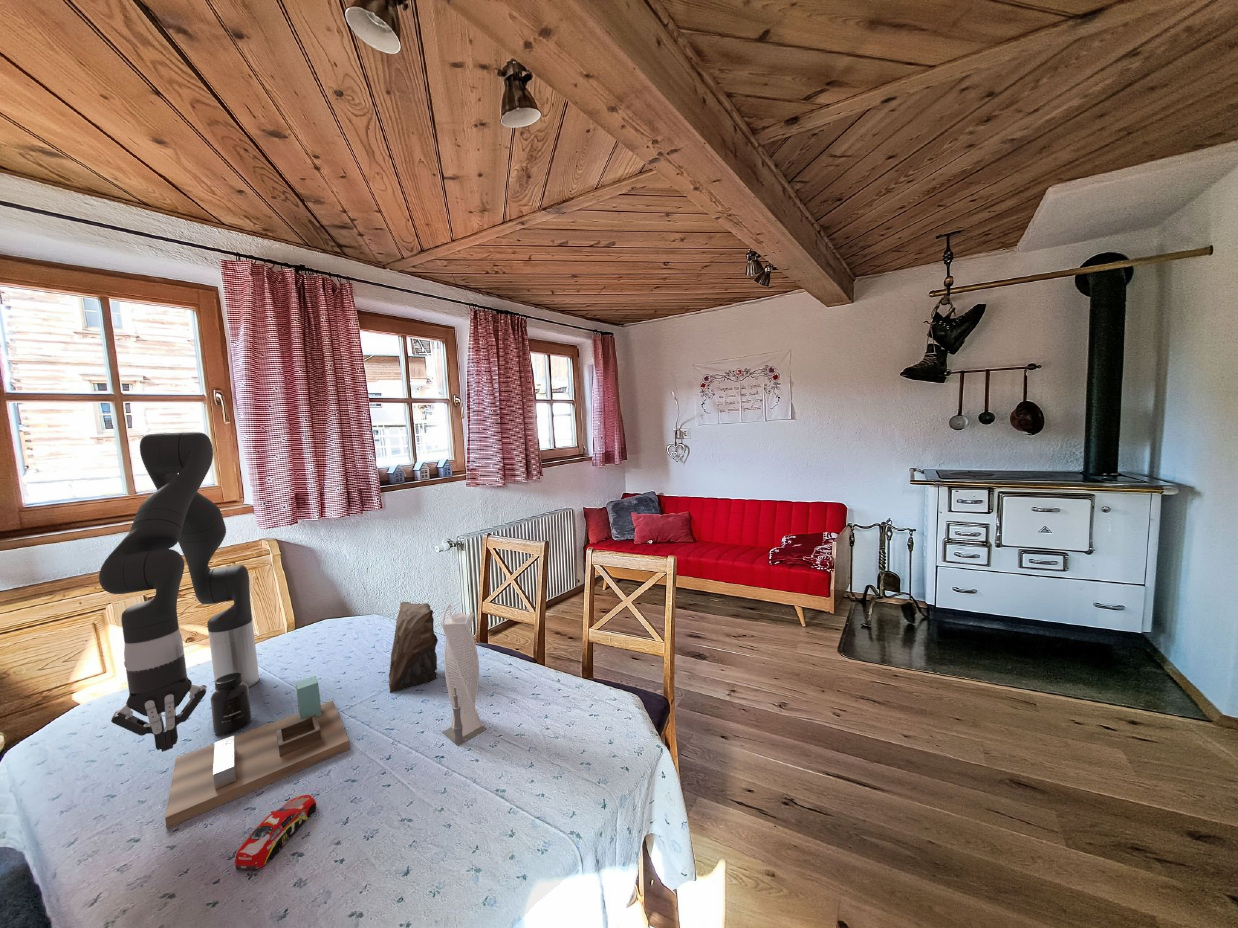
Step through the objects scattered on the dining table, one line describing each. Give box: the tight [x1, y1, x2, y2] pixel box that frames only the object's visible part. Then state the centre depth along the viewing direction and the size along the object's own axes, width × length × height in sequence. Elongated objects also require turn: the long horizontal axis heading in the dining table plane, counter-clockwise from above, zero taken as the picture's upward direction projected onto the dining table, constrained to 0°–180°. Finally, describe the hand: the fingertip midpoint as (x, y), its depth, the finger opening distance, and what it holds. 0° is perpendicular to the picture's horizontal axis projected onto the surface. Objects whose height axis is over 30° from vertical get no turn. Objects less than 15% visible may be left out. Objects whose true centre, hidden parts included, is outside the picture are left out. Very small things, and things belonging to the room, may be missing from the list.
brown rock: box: [388, 601, 439, 694], centre depth 124 cm, size 13×13×20 cm
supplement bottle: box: [210, 673, 252, 736], centre depth 107 cm, size 7×7×12 cm
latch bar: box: [213, 735, 236, 789], centre depth 90 cm, size 12×3×3 cm, turn 40°
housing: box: [164, 700, 350, 829], centre depth 96 cm, size 20×28×4 cm
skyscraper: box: [441, 604, 488, 747], centre depth 101 cm, size 8×8×28 cm
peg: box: [295, 675, 322, 720], centre depth 107 cm, size 4×4×8 cm
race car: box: [234, 794, 317, 871], centre depth 77 cm, size 13×5×4 cm, turn 174°
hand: (167, 747), depth 85 cm, fingers closed
